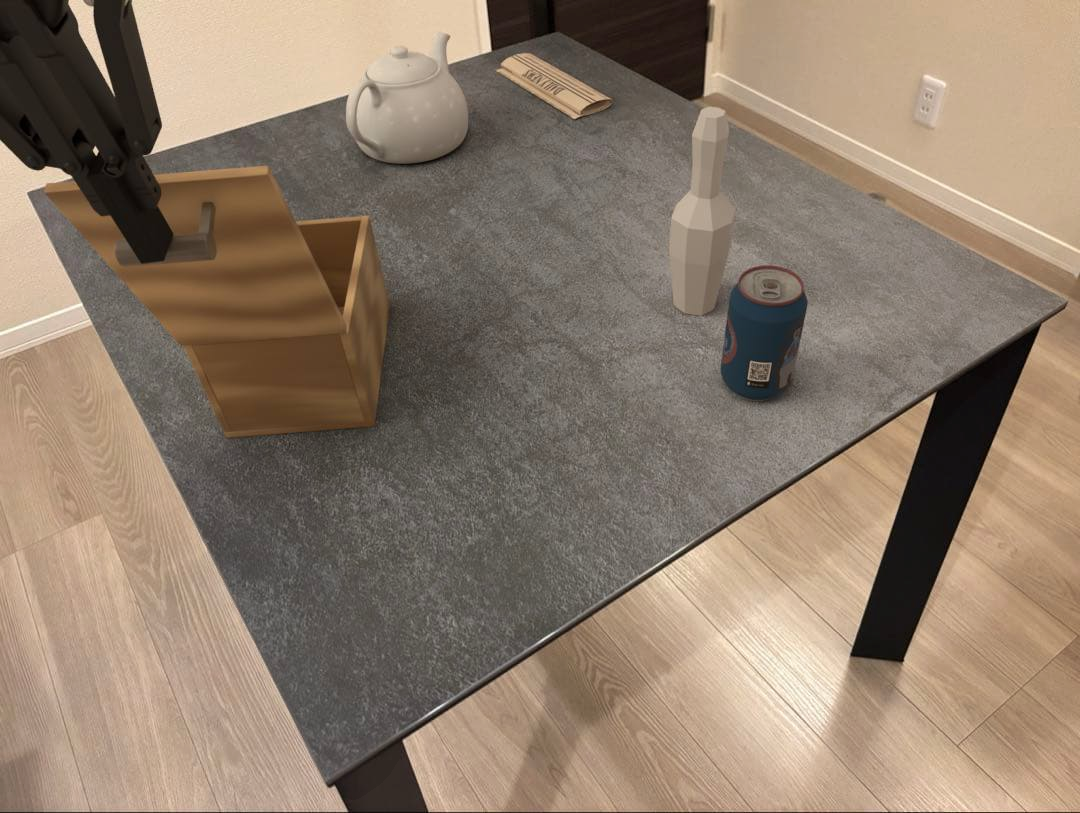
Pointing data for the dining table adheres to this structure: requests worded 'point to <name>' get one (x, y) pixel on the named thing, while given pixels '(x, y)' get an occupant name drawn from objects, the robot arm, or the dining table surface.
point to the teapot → (408, 106)
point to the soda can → (763, 332)
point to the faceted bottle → (702, 221)
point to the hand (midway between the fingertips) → (157, 248)
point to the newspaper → (553, 85)
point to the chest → (309, 349)
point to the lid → (218, 259)
